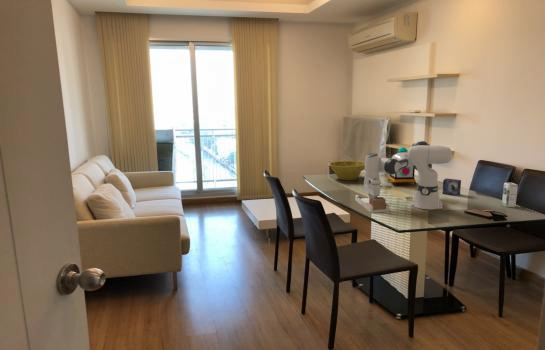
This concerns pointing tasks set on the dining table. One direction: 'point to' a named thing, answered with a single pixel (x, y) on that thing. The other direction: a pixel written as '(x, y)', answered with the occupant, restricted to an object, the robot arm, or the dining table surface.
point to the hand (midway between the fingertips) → (371, 199)
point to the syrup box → (509, 194)
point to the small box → (451, 187)
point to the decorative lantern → (403, 172)
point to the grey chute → (369, 207)
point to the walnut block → (377, 202)
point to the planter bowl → (347, 169)
